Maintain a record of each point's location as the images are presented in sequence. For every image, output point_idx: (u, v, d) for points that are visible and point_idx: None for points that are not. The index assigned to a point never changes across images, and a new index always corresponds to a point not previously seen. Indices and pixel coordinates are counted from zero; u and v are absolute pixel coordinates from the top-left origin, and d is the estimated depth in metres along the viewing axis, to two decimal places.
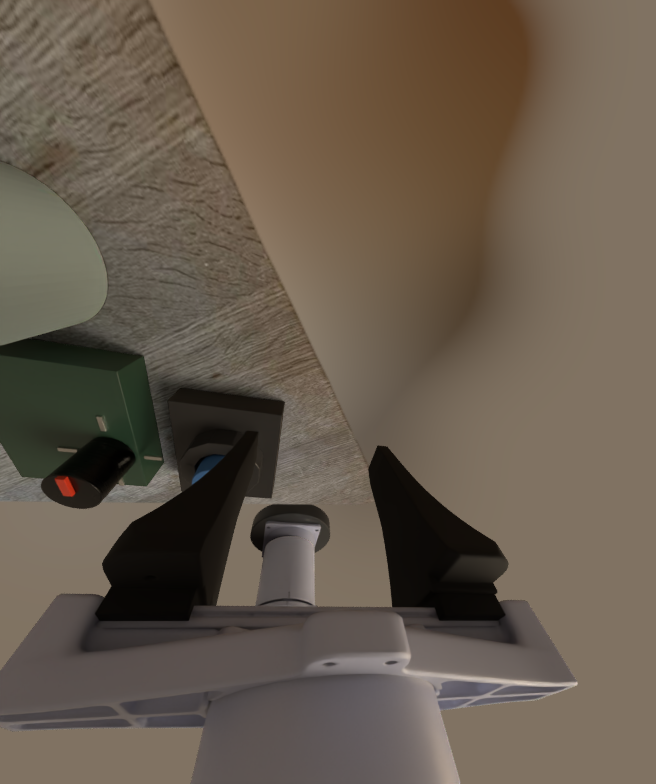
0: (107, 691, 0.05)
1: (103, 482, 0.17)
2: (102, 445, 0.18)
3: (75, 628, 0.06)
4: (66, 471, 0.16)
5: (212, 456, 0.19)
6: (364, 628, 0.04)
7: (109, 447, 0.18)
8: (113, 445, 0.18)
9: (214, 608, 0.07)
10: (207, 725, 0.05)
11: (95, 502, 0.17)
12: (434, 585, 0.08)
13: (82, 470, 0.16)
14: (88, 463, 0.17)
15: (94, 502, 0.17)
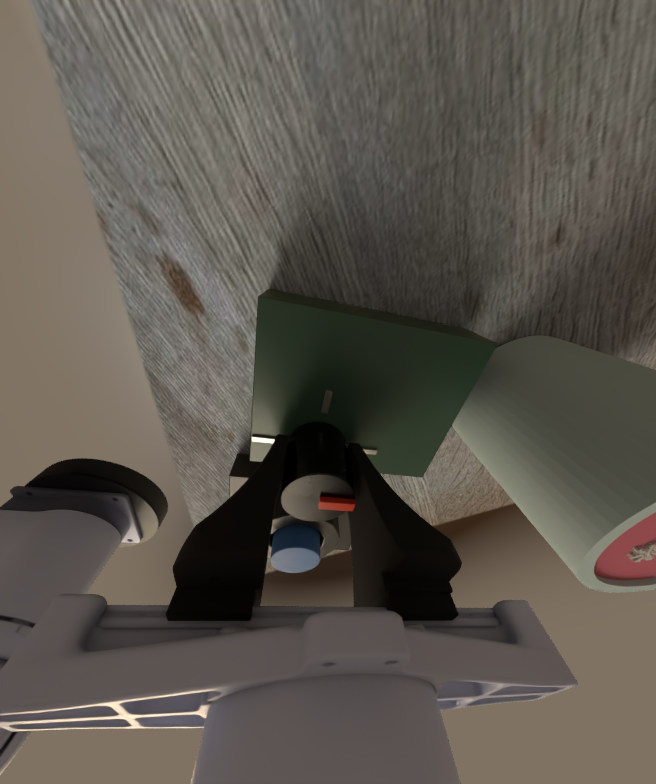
0: (107, 691, 0.05)
1: None
2: None
3: (75, 628, 0.06)
4: None
5: (319, 535, 0.18)
6: (364, 628, 0.04)
7: None
8: None
9: None
10: (207, 725, 0.05)
11: (296, 514, 0.12)
12: (386, 584, 0.08)
13: None
14: None
15: (296, 513, 0.12)
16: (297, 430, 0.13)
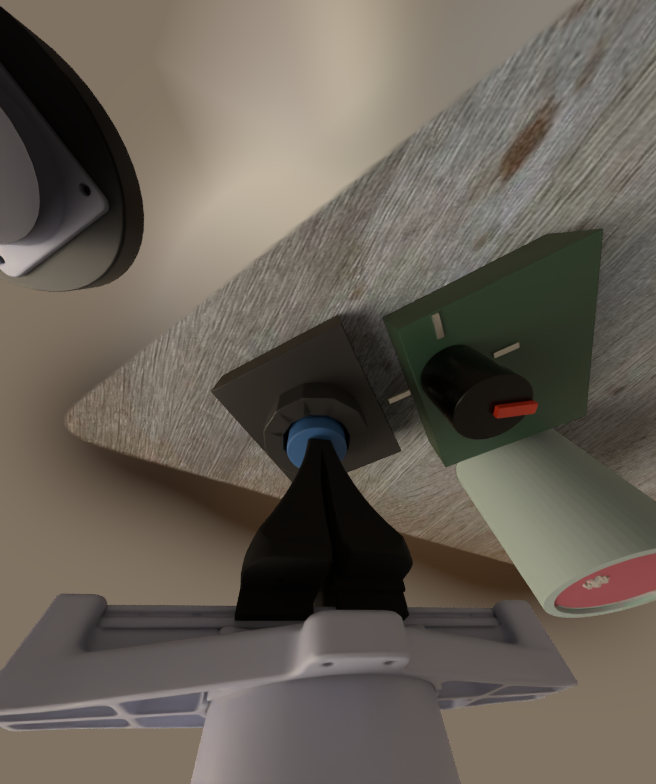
0: (107, 691, 0.05)
1: None
2: None
3: (75, 628, 0.06)
4: None
5: None
6: (364, 628, 0.04)
7: None
8: None
9: (214, 608, 0.07)
10: (207, 725, 0.05)
11: (468, 434, 0.11)
12: (334, 583, 0.08)
13: None
14: None
15: (468, 432, 0.11)
16: (432, 360, 0.13)
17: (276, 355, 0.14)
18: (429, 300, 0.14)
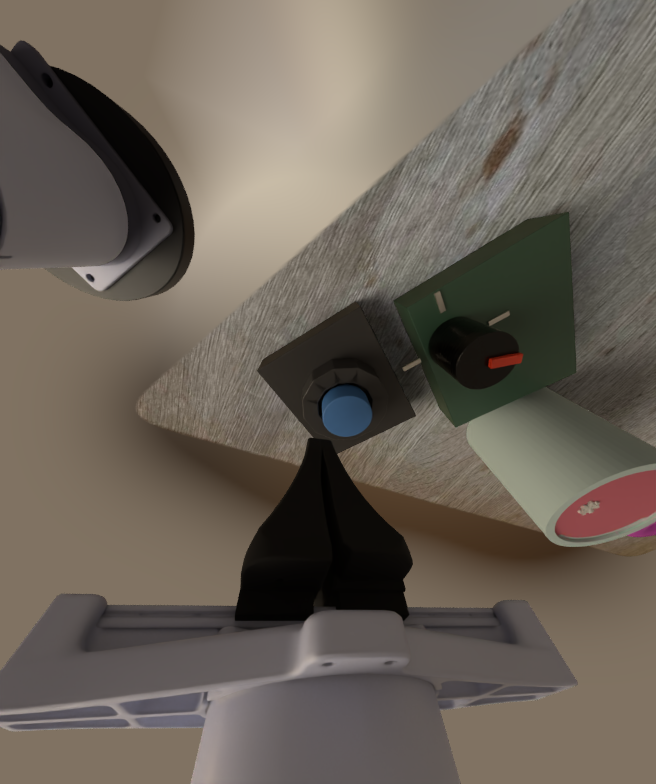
0: (107, 691, 0.05)
1: None
2: None
3: (75, 628, 0.06)
4: None
5: None
6: (364, 628, 0.04)
7: None
8: None
9: (214, 608, 0.07)
10: (207, 725, 0.05)
11: (469, 384, 0.14)
12: (335, 583, 0.08)
13: None
14: None
15: (469, 383, 0.14)
16: (437, 331, 0.16)
17: (309, 337, 0.17)
18: (431, 282, 0.17)
